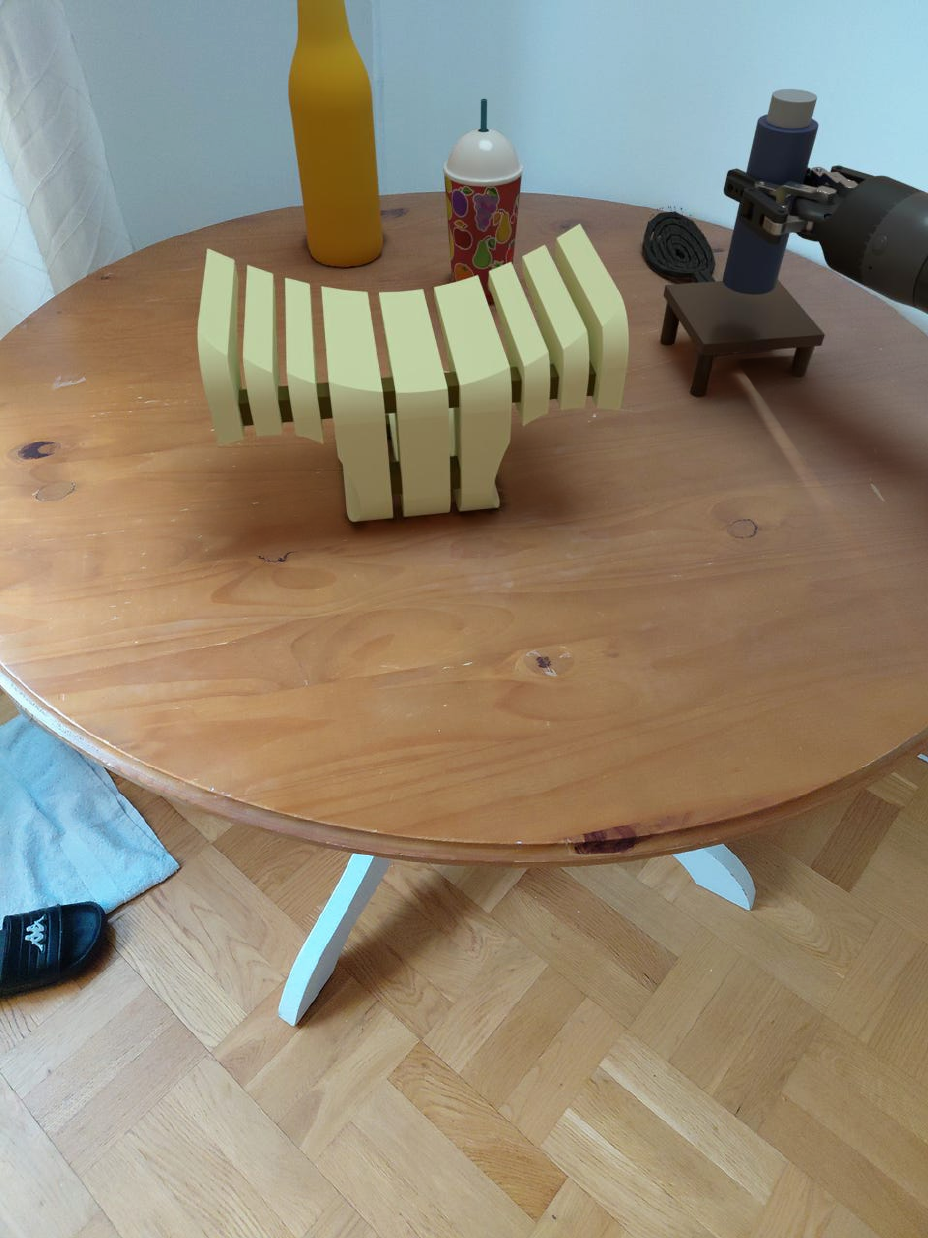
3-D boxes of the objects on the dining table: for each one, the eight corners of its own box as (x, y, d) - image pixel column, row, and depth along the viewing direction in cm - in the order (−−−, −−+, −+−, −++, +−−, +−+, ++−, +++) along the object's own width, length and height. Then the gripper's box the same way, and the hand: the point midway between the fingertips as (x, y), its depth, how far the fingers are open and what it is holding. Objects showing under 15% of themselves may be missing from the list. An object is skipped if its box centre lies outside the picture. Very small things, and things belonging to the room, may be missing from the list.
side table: (761, 330, 94) (776, 276, 89) (806, 389, 86) (825, 334, 81) (655, 338, 93) (665, 284, 88) (691, 399, 85) (703, 343, 80)
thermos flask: (763, 269, 85) (810, 84, 73) (783, 292, 81) (836, 102, 70) (714, 273, 84) (754, 87, 73) (733, 296, 81) (777, 105, 69)
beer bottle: (294, 251, 107) (252, -36, 86) (353, 229, 112) (326, -50, 90) (339, 276, 103) (306, -21, 81) (398, 252, 107) (381, -36, 86)
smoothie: (509, 273, 103) (516, 84, 88) (524, 306, 98) (534, 110, 83) (440, 279, 102) (436, 88, 87) (451, 312, 97) (449, 115, 82)
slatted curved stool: (245, 551, 70) (194, 352, 57) (249, 437, 80) (207, 248, 67) (604, 515, 73) (634, 318, 60) (562, 409, 83) (579, 223, 70)
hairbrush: (691, 312, 91) (637, 205, 107) (684, 343, 93) (632, 234, 109) (767, 309, 91) (702, 202, 107) (758, 340, 94) (695, 232, 110)
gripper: (820, 310, 68) (682, 232, 78) (944, 270, 73) (798, 202, 83) (851, 212, 62) (698, 142, 73) (982, 176, 67) (822, 115, 77)
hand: (752, 174), depth 78 cm, fingers closed on thermos flask, 5 cm apart
